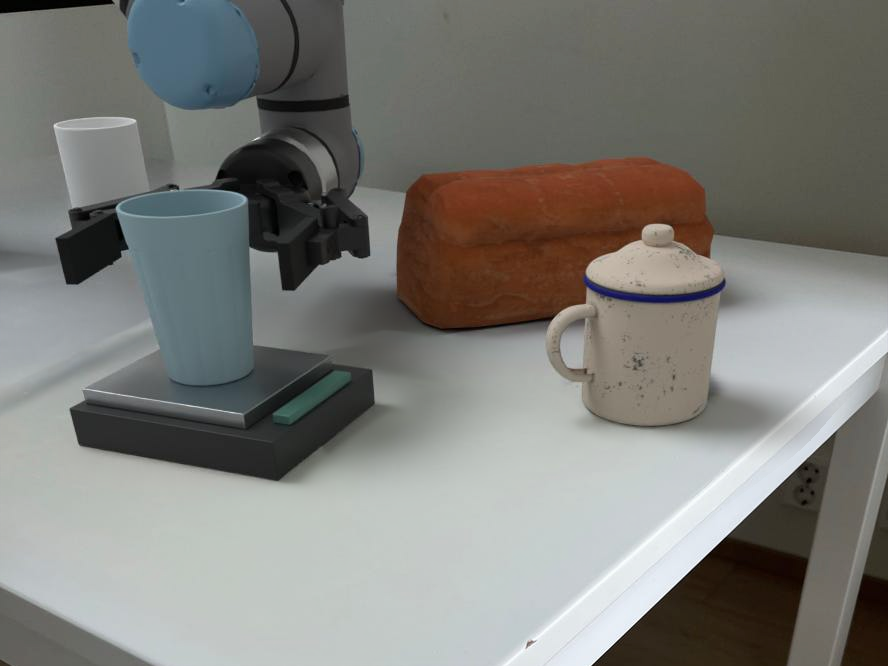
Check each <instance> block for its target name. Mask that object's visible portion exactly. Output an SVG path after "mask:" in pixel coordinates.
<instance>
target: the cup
mask: <svg viewBox="0 0 888 666" xmlns="http://www.w3.org/2000/svg"><path fill="white" fill-rule="evenodd" d="M116 212H117V215H118V218H119V221H120V225H121V228H122V231H123V234H124V237H125V240H126V243H127V245H128V248H129V250H128V252H129V253H130V257H131V260H132V263H133V266H134V270H135V273H136V276H137V279H138V283H139V286H140V289H141V292H142V295H143V297H144V301H145V304H146V308H147V311H148V315H149V317H150V320H151V325H152V327H153V330H154V333H155V336H156V339H157V342H158V346H159V349H161V353H162V356H163V359H164V362H165V365H166V368H167V371H168V374H169V377H170V378H171V379H172V380H174V381H176V382H178V383H181V384H186V385H196V386H207V385H217V384H223V383H228V382H232V381H235V380H238V379H240V378H243V377H244V376H246V375H248V374H249V373H250V372H251V371H252V369H253V345H254V338H253V337H254V335H253V332H254V331H253V308H252V283H251V282H252V279H251V256H250V247H249V219H248V199H247V198H246V197H245V196H244V195H242V194H239V193H235V192H230V191H222V190H205V189H197V190H183V189H179V190H176V191H166V192H158V193H152V194H146V195H141V196H137V197H134V198H130V199H127V200H125V201H123V202H121V203H119V204H118V205H117V206H116Z"/></svg>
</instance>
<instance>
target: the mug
mask: <svg viewBox="0 0 888 666" xmlns="http://www.w3.org/2000/svg"><path fill="white" fill-rule="evenodd" d="M53 130H54V134H55V139H56V143H57V148H58V153H59V156H60V160H61V161H60V162H61V165H62V170H63V173H64V177H65V182H66V186H67V191H68V195H69V200H70V204H71V209H73V208H75V207H84V206H88V205H93V204H97V203H101V202H106V201H110V200H114V199H119V198H123V197H127V196H132V195H136V194H140V193H145V192H149V191H151V189H150V185H149V180H148V174H147V170H146V163H145V158H144V154H143V147H142V142H141V137H140V133H139V132H140V131H139V126H138V121H137V120H136V119H135V118H129V117H124V116H123V117H121V116H100V117H99V116H97V117H84V118H74V119H67V120H63V121H59V122H55V123H54V124H53Z"/></svg>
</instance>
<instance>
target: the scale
mask: <svg viewBox="0 0 888 666" xmlns="http://www.w3.org/2000/svg"><path fill="white" fill-rule="evenodd" d="M374 384H375V383H374V373H373V369H372V368H366V367H360V366H352V365H344V364H336V363H334V362H333V356H332V355H331V354H324V353H318V352H317V353H316V352H309V351H301V350H294V349H286V348H278V347H273V346H272V347H270V346H263V345H256V344H253V369H252V371H251V372H250V373H249V374H248V375H246V376H244V377H243V378H240V379H238V380H235V381H232V382H228V383H223V384H217V385H207V386H196V385H186V384H181V383H178V382H176V381H174V380H172V379H171V378H170V377H169V374H168V371H167V368H166V365H165V362H164V359H163V356H162V353H161V349H160V348H159V349H156V350H155V351H153V352H151V353H149V354H147V355H145V356H143V357H141V358H140V359H137V360H135V361H134V362H131V363H130V364H128V365H126V366H124V367H122V368H120V369H118V370H117V371H114V372H113V373H111V374H108V375H106V376H104V377H103V378H101V379H99V380H97V381H95V382H93V383H91V384H89V385H87V386H85V387H83V388H82V392H83V397H84V400H82V401H80V402H78V403H76V404H75V405H73V406H71V407H69V408H68V409H69V414H70V418H71V421H72V425H73V429H74V433H75V436H76V441H77V444H78V445H79V446H84V447H89V448H94V449H100V450H106V451H111V452H117V453H122V454H127V455H128V454H129V455H134V456H140V457H144V458H145V457H146V458H151V459H156V460H163V461H167V462H172V463H178V464H185V465H190V466H195V467H201V468H205V469H212V470H217V471H223V472H228V473H235V474H238V475H239V474H240V475H244V476H250V477H256V478H261V479H267V480H272V481H273V480H274V481H279V480H281V479H282V478H283V477H284V476H286V475H287V474H289V473H290V472H291V471H292V470H293V469H295V468H296V467H297V466H299V465H300V464H301V463H302V462H303V461H305V460H306V459H307V458H309V456H311V455H312V454H313V453H315V452H316V451H318V450H319V449H320V448H321V447H322V446H323V445H325V444H326V443H327V442H329V441H330V440H331V439H332V438H333V437H335V436H337V435H338V433H340V432H341V431H342V430H343V429H345V428H346V427H348V426H349V425H350V424H352V423H353V422H354V421H355V420H357V418H359V417H360V416H361V415H362V414H364V413H365V412H367V411H368V410H369V409H370V408H372V406H374V405H375V404H376V400H375V399H376V398H375V386H374Z"/></svg>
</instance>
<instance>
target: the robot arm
mask: <svg viewBox="0 0 888 666" xmlns="http://www.w3.org/2000/svg"><path fill="white" fill-rule="evenodd" d="M111 1H112V2H113V3H114V5H116V7H117V8H118V9H119V10H120V12H121V13H122V15H123V16H124V17H125V18H126V19H127V23H126V25H127V26H126V29H127V31H126V33H127V34H126V35H127V37H126V39H127V43H128V44H127V45H128V50H129V52H130V53H131V56H132V59H133V62H134V65H135V67H136V73H138V75H139V78H140V79H141V80H142V82H143V83H144V84H145V86H146V87H147V88H148V89H149V90H150V91H151V92H152V93H153V94H154V95H155V96H156V97H157V98H159V99H160V100H162V101H163V102H165V103H166V104H168V105H170V106H171V107H175V108H178V109H181V110H187V111H200V110H201V111H202V110H211V109H212V110H220V109H221V110H222V109H226V108H230V107H234V106H235V105H238V103H240V102H241V101H245V100H248V99H251V98H254V97H255V98H256V106H257V110H258V118H259V125H260V133H261V134H260V135H259V136H257V137H255V138H254V139H252V140H251V141H250V142H248V143H246V144H244V145H242V146H241V147H238V148H237V149H234V150H233V151H232V152H231V153H229V155H228V156H227V157H226V158H224V160H223V161H222V163H221V165H220V166H219V169H218V170H217V173H216V176H215V179H214V180H213V182H212V183H210V184H206V185H205V184H204V185H199V186H193V187H188V188H184V189H182V190H197V189H205V190H222V191H230V192H235V193H239V194H242V195H244V196H245V197H246V198H247V199H248V219H249V249H253V250H255V251H259V252H262V253H269V254H270V253H277V258H278V269H279V275H280V276H279V277H280V284H281V291H282V292H285V291H287V292H295V291H296V290H297V289H298V288H299V287H300V286H301V284H302V283H303V282H304V281H305V280H306V279H308V277H309V276H310V275H311V274H312V273H313V272H314V271H315V270H316V269H317V268H318V267H319V266H324V265H327V264H329V263H330V262H331V261H336V260H338V259H341V258H342V257H343V256H342V252H348V253H349V254H350V255H351V257H354V258H357V259H362V260H364V259H367V258H369V257H370V256H371V241H370V239H371V238H370V225H369V215H368V214H367V213H365V212H364V211H363V210H362V209H361V208H360V207H358V206H357V205H356V204H355V203H354V202H353V201H351V199H350V198H351V197H352V195H353V194H354V192H355V190H356V187H357V186H358V184H359V182H360V181H361V178H362V176H363V172H364V168H365V150H364V145H363V141H362V139H361V136H360V135H359V133H358V132H357V130H356V128H355V127H354V126H353V123H352V111H351V110H352V109H351V103H350V97H349V96H350V95H349V80H348V65H347V50H346V34H345V19H344V6H345V0H111ZM176 190H180V186H179V185H178V184H176V183H175V184H174V183H166V185H162V186H160V187H158V188H155V189H152V190H150V191H149V192H145V193H140V194H136V195H132V196H127V197H123V198H119V199H114V200H110V201H106V202H101V203H97V204H93V205H88V206H84V207H75V208H73V209H72V208H71V209H69V210H67V213H68V217H69V222H70V227H71V229H70V230H68V231H66V232H64V233H62V234H60V235H59V236H56V237H55V238H54V240H55V243H56V247H57V252H58V256H59V261H60V265H61V268H62V273H63V276H64V281H65V285H70V286H71V285H72V286H79V285H80V284H81V283H83V282H85V281H87V280H88V279H89V278H92V276H94V275H96V274H97V273H100V272H101V271H103V270H104V269H105V268H107V267H108V266H114V263H115V262H117V261H118V260H120V259H121V258H122V257H123V255H122V252H124V251H129V248H128V245H127V243H126V240H125V237H124V234H123V231H122V228H121V225H120V221H119V218H118V215H117V212H116V206H117V205H118V204H119V203H121V202H123V201H125V200H127V199H130V198H134V197H137V196H141V195H146V194H152V193H158V192H166V191H176Z"/></svg>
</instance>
